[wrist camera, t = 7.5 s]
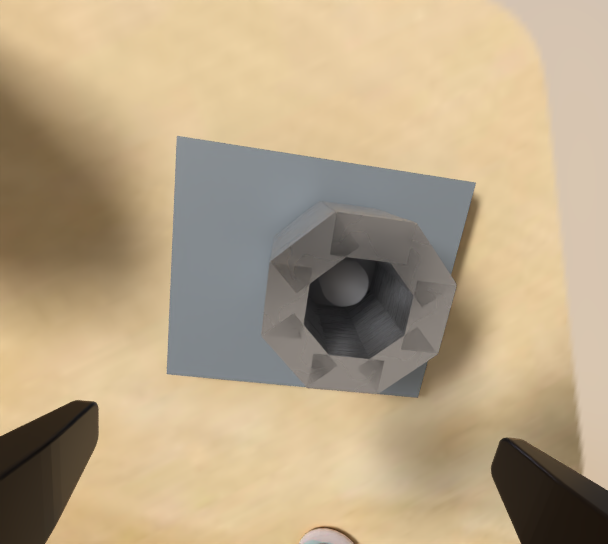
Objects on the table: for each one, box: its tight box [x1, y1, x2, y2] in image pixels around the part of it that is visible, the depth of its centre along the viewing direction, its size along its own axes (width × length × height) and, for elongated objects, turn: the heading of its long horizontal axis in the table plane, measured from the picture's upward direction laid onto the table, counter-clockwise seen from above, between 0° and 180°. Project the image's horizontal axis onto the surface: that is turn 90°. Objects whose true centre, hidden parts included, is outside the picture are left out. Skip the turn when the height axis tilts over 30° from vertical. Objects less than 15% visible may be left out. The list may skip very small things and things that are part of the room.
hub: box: [261, 201, 457, 394], centre depth 14 cm, size 6×6×5 cm
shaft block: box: [167, 136, 476, 398], centre depth 17 cm, size 12×14×4 cm
